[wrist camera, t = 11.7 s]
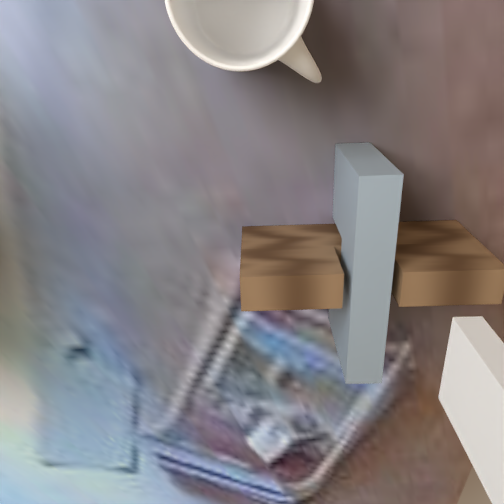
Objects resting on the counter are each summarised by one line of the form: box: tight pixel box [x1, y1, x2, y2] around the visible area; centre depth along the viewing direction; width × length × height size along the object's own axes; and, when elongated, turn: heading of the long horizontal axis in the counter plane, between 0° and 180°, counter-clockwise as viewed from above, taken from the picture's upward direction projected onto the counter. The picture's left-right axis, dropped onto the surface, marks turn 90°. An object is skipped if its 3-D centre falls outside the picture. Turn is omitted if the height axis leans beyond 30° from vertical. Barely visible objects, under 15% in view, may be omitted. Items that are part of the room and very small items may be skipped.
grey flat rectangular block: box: [328, 143, 404, 384], centre depth 40 cm, size 3×18×10 cm, turn 2°
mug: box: [165, 0, 322, 83], centre depth 32 cm, size 9×12×11 cm
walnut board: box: [240, 220, 504, 311], centre depth 40 cm, size 20×3×10 cm, turn 92°
